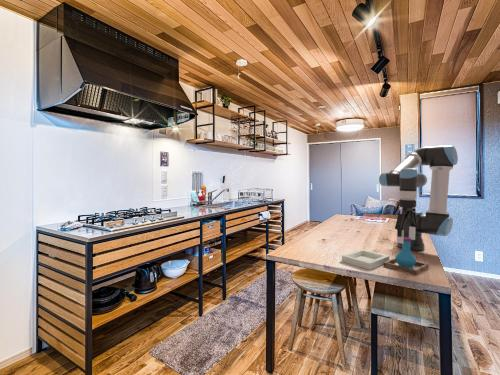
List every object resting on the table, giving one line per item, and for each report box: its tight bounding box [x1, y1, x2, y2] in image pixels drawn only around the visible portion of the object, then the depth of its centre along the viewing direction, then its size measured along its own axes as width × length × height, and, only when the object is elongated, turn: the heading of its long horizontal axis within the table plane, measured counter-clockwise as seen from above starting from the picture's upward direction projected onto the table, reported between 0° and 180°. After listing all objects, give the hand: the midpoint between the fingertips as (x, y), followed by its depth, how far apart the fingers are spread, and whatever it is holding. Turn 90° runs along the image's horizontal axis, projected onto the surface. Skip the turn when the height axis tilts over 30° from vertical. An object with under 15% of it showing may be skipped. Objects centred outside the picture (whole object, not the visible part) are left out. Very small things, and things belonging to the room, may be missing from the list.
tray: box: [341, 248, 391, 271], centre depth 142 cm, size 20×16×3 cm
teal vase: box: [395, 237, 418, 270], centre depth 133 cm, size 9×9×15 cm
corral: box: [383, 256, 429, 276], centre depth 133 cm, size 15×15×2 cm
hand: (406, 241), depth 132 cm, fingers open, 13 cm apart
